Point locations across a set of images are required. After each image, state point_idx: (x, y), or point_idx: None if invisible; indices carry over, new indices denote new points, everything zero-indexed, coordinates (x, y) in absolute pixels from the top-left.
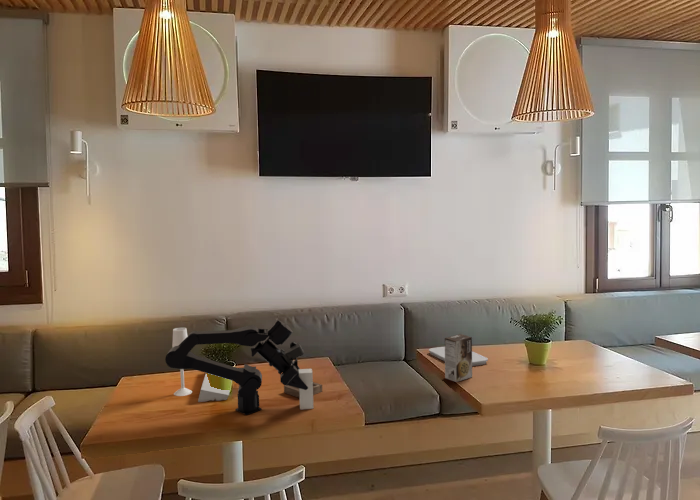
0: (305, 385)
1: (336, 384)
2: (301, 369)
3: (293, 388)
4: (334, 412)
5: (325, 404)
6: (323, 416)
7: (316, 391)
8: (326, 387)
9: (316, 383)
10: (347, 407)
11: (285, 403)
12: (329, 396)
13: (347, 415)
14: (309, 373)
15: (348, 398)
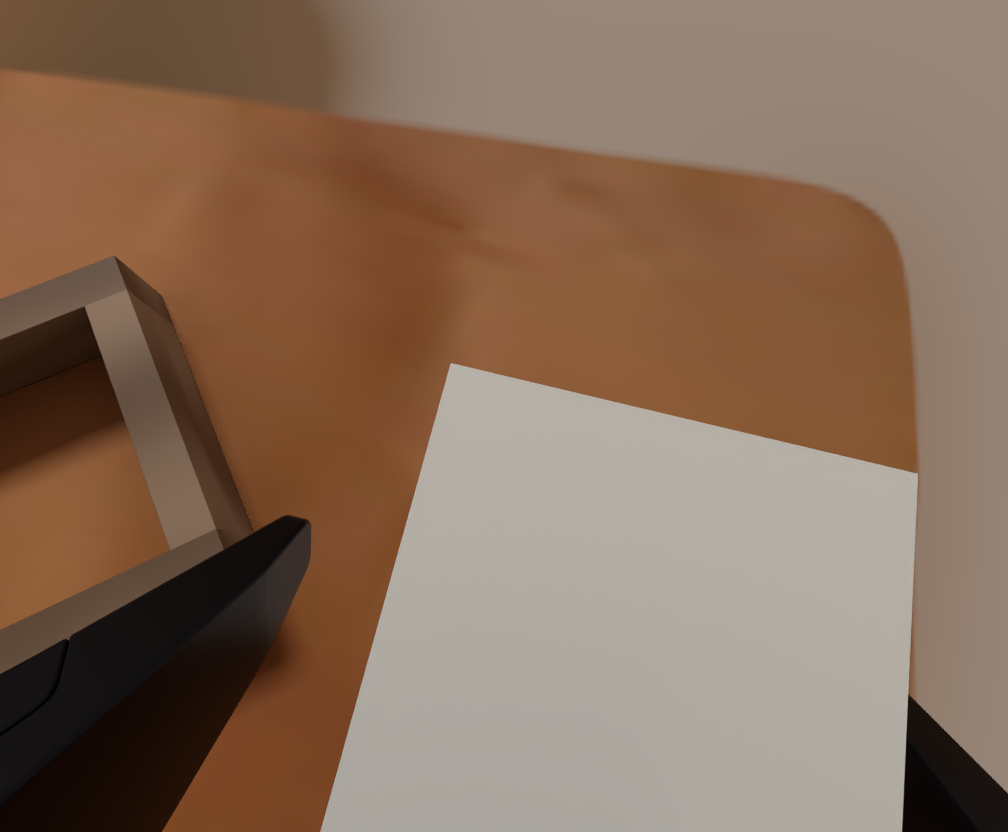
0: (944, 743)
1: (45, 110)
2: (392, 783)
3: (18, 653)
4: (785, 372)
5: (545, 384)
6: None
7: (178, 363)
8: (67, 221)
9: (22, 301)
10: (699, 227)
11: (312, 826)
12: (343, 278)
13: (889, 291)
14: (895, 583)
15: (480, 144)
